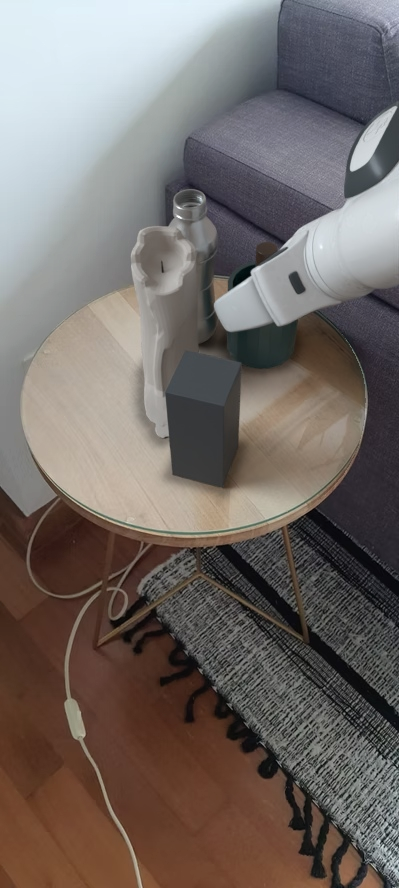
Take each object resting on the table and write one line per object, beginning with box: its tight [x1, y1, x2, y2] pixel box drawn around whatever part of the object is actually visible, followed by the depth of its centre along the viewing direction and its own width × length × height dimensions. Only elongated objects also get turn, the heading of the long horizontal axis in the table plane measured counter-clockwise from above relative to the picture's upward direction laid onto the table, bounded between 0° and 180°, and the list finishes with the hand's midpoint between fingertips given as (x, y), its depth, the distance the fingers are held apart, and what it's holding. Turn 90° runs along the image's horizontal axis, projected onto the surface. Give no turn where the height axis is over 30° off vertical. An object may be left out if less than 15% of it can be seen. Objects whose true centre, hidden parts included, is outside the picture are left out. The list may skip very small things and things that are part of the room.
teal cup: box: [226, 260, 299, 370], centre depth 86 cm, size 9×9×10 cm
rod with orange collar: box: [255, 241, 278, 267], centre depth 84 cm, size 4×4×14 cm
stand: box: [165, 350, 243, 489], centre depth 73 cm, size 6×6×14 cm
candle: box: [130, 225, 200, 439], centre depth 77 cm, size 7×14×20 cm, turn 2°
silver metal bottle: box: [168, 188, 220, 345], centre depth 83 cm, size 6×7×20 cm
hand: (260, 288), depth 83 cm, fingers closed on rod with orange collar, 2 cm apart
